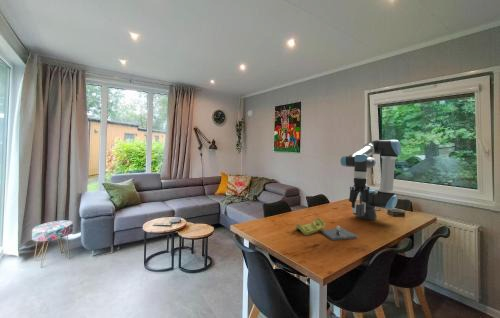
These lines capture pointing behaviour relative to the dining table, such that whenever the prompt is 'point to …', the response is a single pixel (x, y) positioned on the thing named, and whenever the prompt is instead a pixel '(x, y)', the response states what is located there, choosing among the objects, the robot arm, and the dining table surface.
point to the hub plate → (338, 234)
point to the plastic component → (311, 227)
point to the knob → (359, 209)
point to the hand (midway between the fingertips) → (358, 212)
